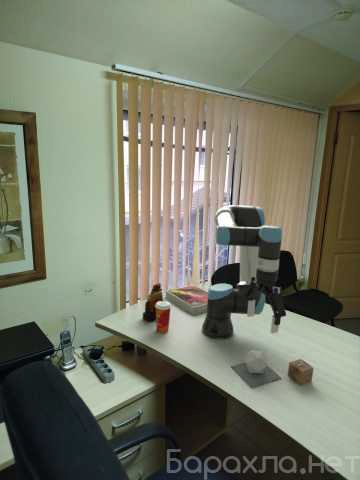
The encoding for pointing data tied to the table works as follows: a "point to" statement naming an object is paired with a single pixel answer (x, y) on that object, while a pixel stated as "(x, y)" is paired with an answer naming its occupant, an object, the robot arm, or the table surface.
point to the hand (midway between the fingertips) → (261, 323)
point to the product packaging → (189, 298)
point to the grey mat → (255, 375)
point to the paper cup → (162, 316)
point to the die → (256, 362)
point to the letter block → (300, 372)
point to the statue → (152, 303)
